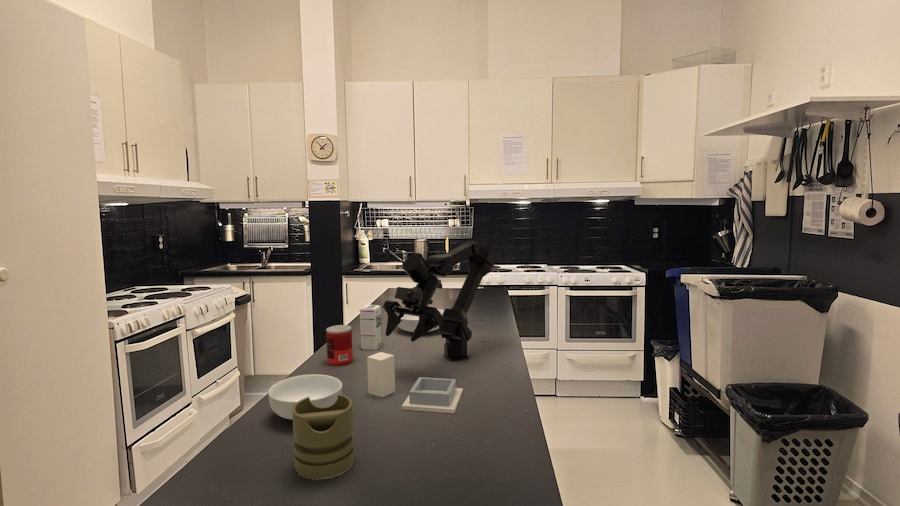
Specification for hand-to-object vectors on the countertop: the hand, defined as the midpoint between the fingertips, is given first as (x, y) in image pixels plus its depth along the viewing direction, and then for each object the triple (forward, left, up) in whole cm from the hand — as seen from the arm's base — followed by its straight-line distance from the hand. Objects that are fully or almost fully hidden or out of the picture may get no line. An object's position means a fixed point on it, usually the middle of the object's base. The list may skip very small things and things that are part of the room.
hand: (398, 338), depth 135 cm
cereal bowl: (+26, +9, -13) cm, 31 cm away
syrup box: (-2, -35, -13) cm, 38 cm away
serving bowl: (-25, -48, -13) cm, 56 cm away
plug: (+6, +4, -13) cm, 15 cm away
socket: (-4, +15, -13) cm, 20 cm away
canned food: (+11, -25, -13) cm, 31 cm away
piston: (+26, +33, -13) cm, 44 cm away
